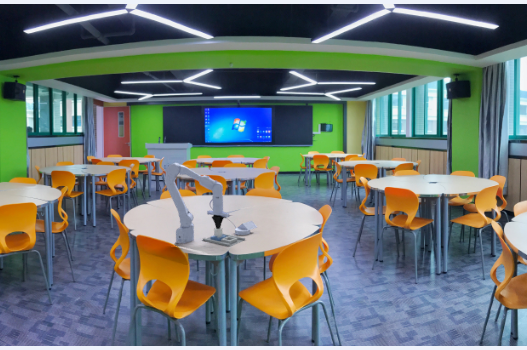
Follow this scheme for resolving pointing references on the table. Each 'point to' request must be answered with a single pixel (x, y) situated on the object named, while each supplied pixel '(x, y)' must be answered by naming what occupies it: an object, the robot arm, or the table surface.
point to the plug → (218, 232)
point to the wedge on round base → (245, 228)
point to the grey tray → (225, 240)
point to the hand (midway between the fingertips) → (218, 228)
